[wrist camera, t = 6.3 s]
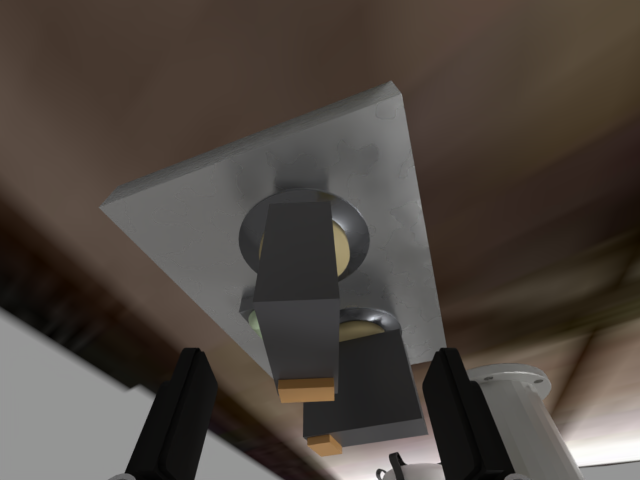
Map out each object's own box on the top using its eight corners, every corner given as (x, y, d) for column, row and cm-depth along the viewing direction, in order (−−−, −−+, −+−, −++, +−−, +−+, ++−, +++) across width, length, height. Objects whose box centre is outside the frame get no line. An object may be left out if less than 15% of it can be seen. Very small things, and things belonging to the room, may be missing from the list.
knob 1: (350, 191, 15) (373, 307, 10) (346, 287, 19) (360, 401, 14) (249, 195, 15) (218, 313, 10) (269, 290, 19) (255, 405, 14)
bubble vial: (302, 333, 23) (302, 359, 21) (275, 340, 23) (273, 365, 22) (272, 291, 20) (269, 317, 18) (241, 299, 20) (235, 326, 19)
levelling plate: (440, 336, 27) (448, 358, 26) (285, 368, 30) (283, 390, 29) (391, 80, 14) (402, 94, 12) (117, 186, 17) (97, 208, 15)
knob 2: (405, 345, 24) (432, 447, 19) (321, 363, 25) (324, 462, 20) (394, 310, 21) (421, 419, 16) (298, 332, 22) (296, 439, 17)
